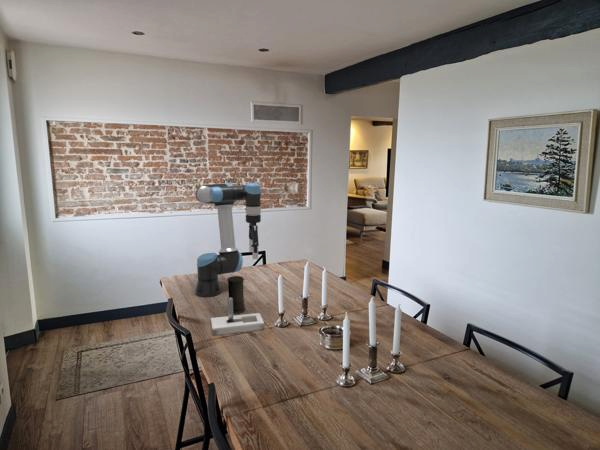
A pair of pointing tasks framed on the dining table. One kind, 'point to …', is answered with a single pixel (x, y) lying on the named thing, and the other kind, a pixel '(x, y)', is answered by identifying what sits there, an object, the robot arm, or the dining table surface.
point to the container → (236, 293)
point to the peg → (230, 310)
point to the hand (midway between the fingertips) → (253, 255)
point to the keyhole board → (237, 324)
